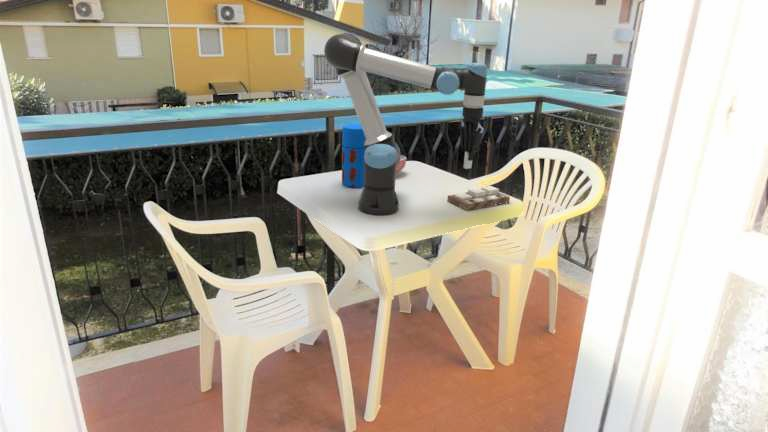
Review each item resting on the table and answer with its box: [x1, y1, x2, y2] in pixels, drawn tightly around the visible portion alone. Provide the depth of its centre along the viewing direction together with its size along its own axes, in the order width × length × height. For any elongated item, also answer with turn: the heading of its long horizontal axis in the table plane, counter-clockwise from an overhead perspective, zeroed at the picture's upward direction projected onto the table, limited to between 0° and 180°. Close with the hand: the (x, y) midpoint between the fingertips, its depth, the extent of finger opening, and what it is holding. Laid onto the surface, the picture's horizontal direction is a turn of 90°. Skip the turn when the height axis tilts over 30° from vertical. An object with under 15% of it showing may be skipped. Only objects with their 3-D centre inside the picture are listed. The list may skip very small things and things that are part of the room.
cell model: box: [396, 154, 407, 174], centre depth 241 cm, size 17×20×11 cm
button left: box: [453, 192, 472, 201], centre depth 208 cm, size 5×5×2 cm
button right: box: [480, 185, 500, 196], centre depth 215 cm, size 5×5×2 cm
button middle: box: [467, 187, 486, 198], centre depth 211 cm, size 5×5×2 cm
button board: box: [446, 191, 511, 212], centre depth 211 cm, size 22×12×3 cm, turn 122°
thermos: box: [341, 123, 366, 189], centre depth 222 cm, size 11×11×25 cm
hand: (467, 167), depth 204 cm, fingers closed
